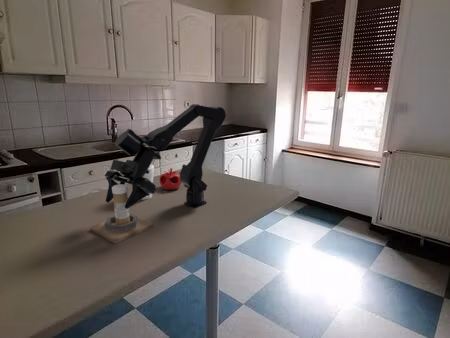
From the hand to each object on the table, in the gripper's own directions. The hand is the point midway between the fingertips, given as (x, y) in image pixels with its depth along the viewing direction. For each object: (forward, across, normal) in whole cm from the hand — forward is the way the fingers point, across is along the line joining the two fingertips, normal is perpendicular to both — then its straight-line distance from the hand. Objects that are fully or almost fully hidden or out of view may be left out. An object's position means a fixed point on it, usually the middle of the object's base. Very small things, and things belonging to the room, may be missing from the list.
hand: (116, 204), depth 90 cm
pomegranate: (-22, -15, +34) cm, 43 cm away
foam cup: (-11, -16, +24) cm, 31 cm away
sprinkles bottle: (+4, 0, +6) cm, 8 cm away
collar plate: (+5, 0, +7) cm, 9 cm away
